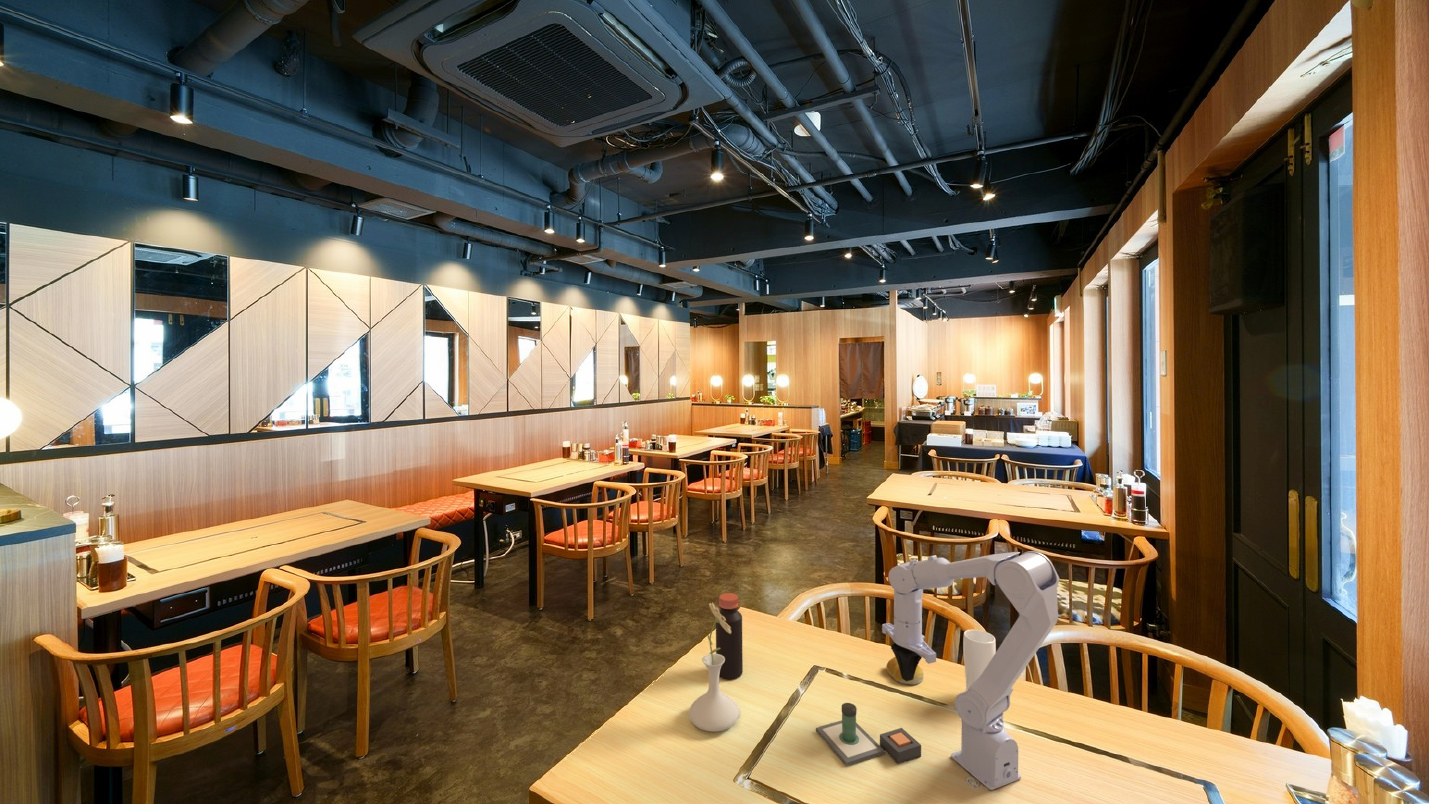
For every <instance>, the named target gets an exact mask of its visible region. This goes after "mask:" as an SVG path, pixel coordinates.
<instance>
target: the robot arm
mask: <svg viewBox="0 0 1429 804" xmlns="http://www.w3.org/2000/svg"><path fill="white" fill-rule="evenodd" d="M1020 553H1021V552H1020V551H1018V552H1017V551H1014V552H1013V551H1012V552H1003V553H994V554H989V555H983V556H978V557H973V558H968V559H964V560H963V559H962V560H957V561H954V562H953V561H952V562H950V561H949V560H948V559H946V558H945V557H938V556H937V555H930V556H928V557H927V559H925V560H917V559H911V560H909V561H907V562H904V563H901V564H898V565H896V566H894V567H892V568H891V569H890V570H889V572H888V581H889V584H890V586H891V588H892V589H893V624H892V623H890V622H887V623H883V624H882V625H881V627H882V628H881V631H882V634H884V635H889V637H890V638H891V639H892V641H893V642H894V643H893V644H891V645H890V649H891V651H892V652H893V654H894V657H896V659H897V662H898V665H899V669H900V673H901V677H902V679H903V680H905V681H910V680H913V678H914V674H915V671H916V668H917V665H918V666H919V663H920V661H921V660H922V658H923V659H924V660H925V663H927V664H933V663H936V662H937V652H935V651H934V650H933V649H932V648H931V647H930V646H929V645H928V644H927V643H926V641H925V639H926V638H925V635H923V634H922V633H923V629H922V628H923V618H922V616H923V615H922V614H923V594H924V590H929V589H930V590H931V589H939V588H947V587H948V588H949V587H951V586H952V585H953V584H954V583H955V580H959V579H960V580H963V579H972V578H973V579H975V578H976V579H977V578H987V580H988V581H989V583H991V585H993V586H996V585H997V586H998V587H999V589H1001V592H1002V593H1003V594H1004V595H1005V596H1006V598H1007V599H1008V601H1010V603H1011V604H1012V606H1013V607H1014V608H1015V610H1016V611H1017V613H1018V615H1019V616H1018V618H1017V619H1016V621H1015V622H1014V624H1013V625H1012V627H1011V628H1010V630H1009V632H1008V633H1007V635H1006V636H1005V637H1004V639H1003V641H1002V643H1001V644H1000V645H999V647H998V649H996V653H995V655H994V656H993V658H992V659H991V661H990V662H989V664H988V665H987V667H986V668H985V670H984V671H983V673H982V675H981V676H980V677H979V678H978V679H977V680H976V681H975V682H974V683H973V684H972V685H971V686H970V687H969V689H967V690H966V689H965V690H964V691H962V692H959V693H958V694H957V695H956V697H954V698H955V699H954V708H955V711H956V714H957V715H958V717H959V719H960V720H961V721H960V722H961V744H960V745H961V747H960V748H961V750H958V751H955V752H953V753H951V754H950V757H951V758H952V759H953V760H954V761H955V762H957V764H959V765H960V766H961V767H962V768H964V769H965V770H966V771H967V772H968V773H970V774H971V776H973V777H974V778H975V779H976V780H977V781H979V783H981V784H983V785H984V786H985V787H986V788H987V789H988V790H990V791H994V790H996V789H998V788H1001V787H1003V786H1006V785H1008V784H1011V783H1013V782H1016V781H1019V780H1021V779H1022V775H1021V774H1020V773H1019V745H1018V743H1017V741H1016V740H1015V739H1014V738H1013V737H1012V736H1011V735H1010V734H1009V733H1008V731H1007V730H1006V727H1005V725H1004V712H1006V711H1008V710H1009V708H1010V705H1011V695H1012V693H1013V692H1014V688H1013V686H1014V685H1015V683H1016V682H1017V680H1018V679H1019V677H1020V676H1021V675H1022V673H1023V672H1024V670H1026V667H1027V666H1028V664H1029V663H1030V662H1031V661H1032V659H1033V658H1034V656H1035V655H1036V654H1037V652H1038V650H1039V649H1040V647H1041V646H1042V644H1043V643H1044V642H1045V641H1046V639H1047V637H1048V636H1049V634H1050V633H1051V631H1052V630H1053V628H1054V627H1055V626H1056V625H1057V623H1058V620H1059V609H1058V606H1059V605H1058V587H1059V584H1060V576H1059V574H1058V573H1057V570H1056V569H1055V566H1054V565H1053V563H1052V561H1051V560H1050V559H1049V558H1048V557H1047V556H1046V555H1045V554H1043V553H1042V552H1038V551H1034V550H1031V551H1029V550H1028V551H1026V552H1025V551H1024V552H1023V553H1021V555H1019V554H1020ZM1018 555H1019V556H1018Z"/></svg>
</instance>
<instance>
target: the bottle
mask: <svg viewBox="0 0 1429 804" xmlns="http://www.w3.org/2000/svg"><path fill="white" fill-rule="evenodd" d="M718 603H719V604H718V605H719V613H720V614H721V616H724V617H725V619H726V621H725V622H726V623H727V624H728V625H729V626H730V628H731V629H730V630H731V634H729V633H728V632H727V631H726V630H725V629H724V628H723V627H722V626H721V624H720V623H717V622H716V624H715V649H717V648H720V649H719V650H717V651H716V652H715V654H720V655H722V656H723V657H724V658H725V662H724V663H723V664H722V666H721V669H720V673H719V679H720V678H721V679H722V680H725V679H726V680H725V681H733V680H732V679H734V680H737V679H739V678H740V677H741V676H742V675H743V670H744V669H743V668H744V667H743V662H744V660H743V615H742V614H741V612H740V611H739V610H738V609H739V596H738V595H737V594H736V593H733V592H732V593H731V592H725V593H722V594H720V595H719V597H718Z"/></svg>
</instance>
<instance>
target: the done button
mask: <svg viewBox="0 0 1429 804" xmlns="http://www.w3.org/2000/svg"><path fill="white" fill-rule="evenodd" d="M890 740H891V741H892V742H894V743H895V744H896V745H897V746H898V747H899V748H900V747H903V746H906V745H909V744H911V741H910V740H909V739H908V738H907V737H906V736H904V735H903V734H902V733H901V732H900V733H897V734H894V735H891V736H890Z"/></svg>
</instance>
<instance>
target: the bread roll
mask: <svg viewBox="0 0 1429 804" xmlns="http://www.w3.org/2000/svg"><path fill="white" fill-rule="evenodd" d="M886 671H887V673H888V674H889V675H890V676H891V677H893V678H894V680H895V681H896V682H898V683H900V684H903V685H912V686H913V685H914V686H916V685H918V684H920V683H922V682H923V680H924V671H923V669H922V667H921V666H920V665H919V664H918V665H917V668H916V671H915V674H914V678H913V680H910V681H905V680H903V679H902V677H901V673H900V669H899V665H898V662H897V659H896V657H895V656H894V657H892V658H891V659H889V660H888V662H887V663H886Z"/></svg>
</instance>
